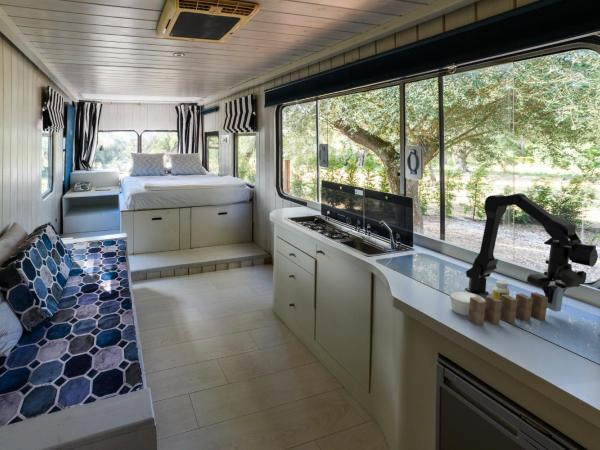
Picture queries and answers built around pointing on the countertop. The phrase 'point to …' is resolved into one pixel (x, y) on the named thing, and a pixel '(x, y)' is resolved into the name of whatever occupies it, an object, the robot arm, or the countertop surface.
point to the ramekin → (462, 302)
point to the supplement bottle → (500, 289)
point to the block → (556, 300)
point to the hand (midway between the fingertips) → (552, 303)
